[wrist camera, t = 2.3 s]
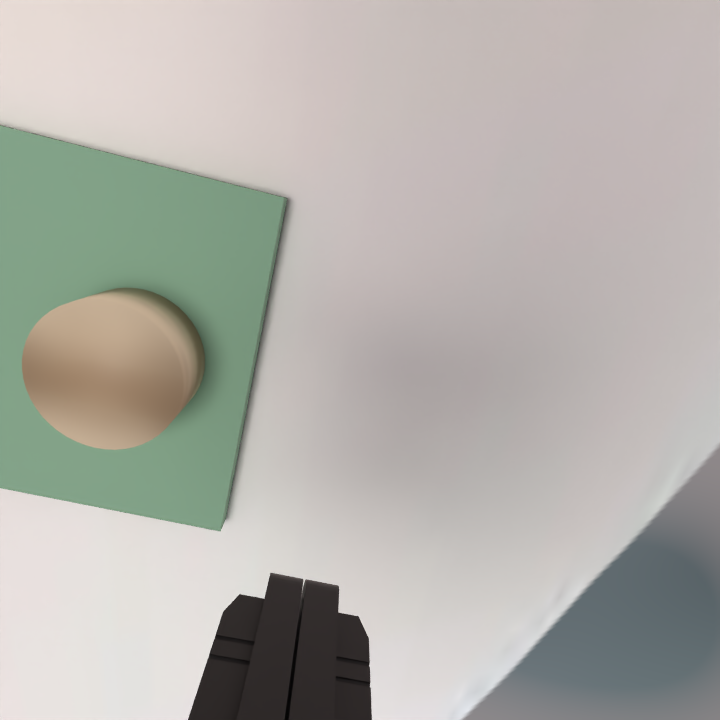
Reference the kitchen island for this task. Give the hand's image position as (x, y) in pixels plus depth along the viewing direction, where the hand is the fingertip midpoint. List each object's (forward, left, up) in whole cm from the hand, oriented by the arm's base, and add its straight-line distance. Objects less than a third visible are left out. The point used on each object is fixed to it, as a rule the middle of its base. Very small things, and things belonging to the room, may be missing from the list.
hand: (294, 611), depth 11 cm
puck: (0, -9, -12) cm, 15 cm away
